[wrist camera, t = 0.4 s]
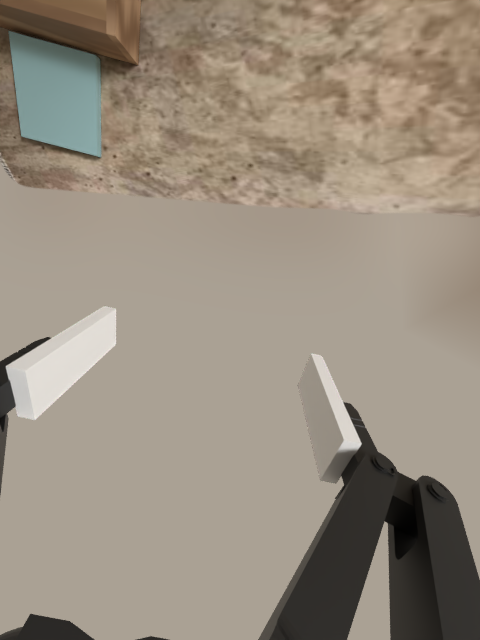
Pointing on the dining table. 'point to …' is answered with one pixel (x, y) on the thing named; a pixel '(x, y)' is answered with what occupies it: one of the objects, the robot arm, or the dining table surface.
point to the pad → (57, 94)
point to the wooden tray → (79, 24)
